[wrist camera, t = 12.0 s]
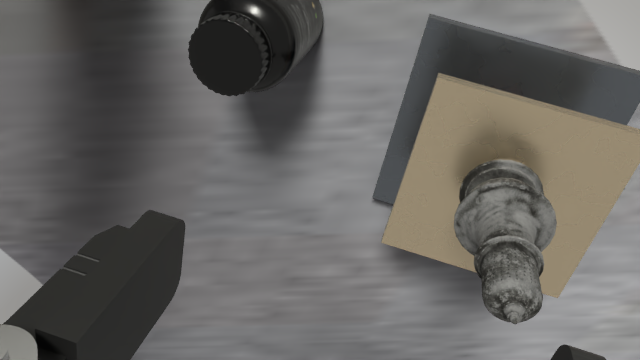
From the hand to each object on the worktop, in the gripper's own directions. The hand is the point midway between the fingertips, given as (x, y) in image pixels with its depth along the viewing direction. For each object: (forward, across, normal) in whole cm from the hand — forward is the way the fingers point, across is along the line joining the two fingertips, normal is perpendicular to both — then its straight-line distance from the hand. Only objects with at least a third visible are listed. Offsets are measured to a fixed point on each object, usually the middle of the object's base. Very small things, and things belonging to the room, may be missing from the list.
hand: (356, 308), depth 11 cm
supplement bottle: (+33, +11, +4) cm, 35 cm away
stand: (+33, -8, +9) cm, 35 cm away
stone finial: (+24, -8, +9) cm, 27 cm away
